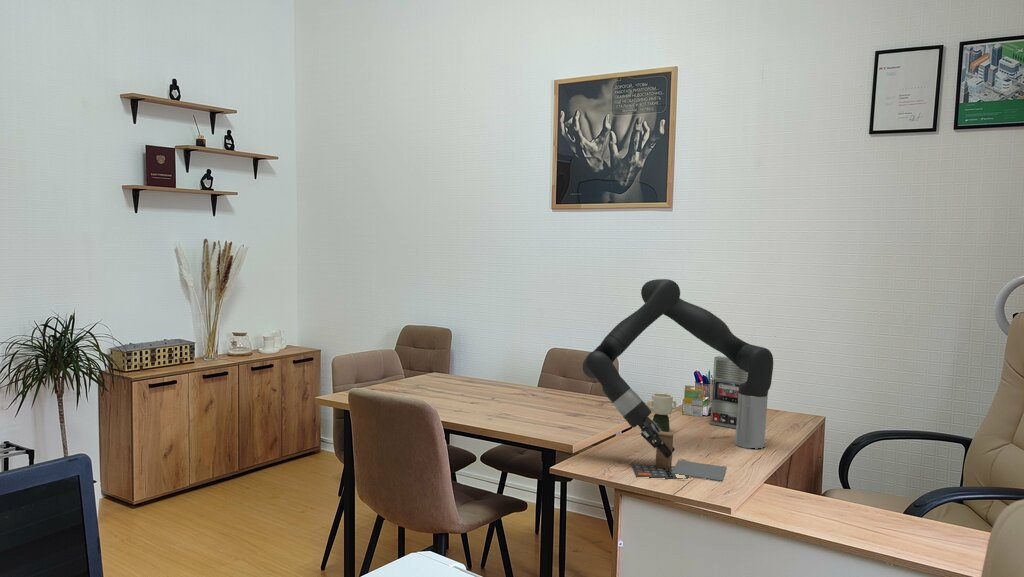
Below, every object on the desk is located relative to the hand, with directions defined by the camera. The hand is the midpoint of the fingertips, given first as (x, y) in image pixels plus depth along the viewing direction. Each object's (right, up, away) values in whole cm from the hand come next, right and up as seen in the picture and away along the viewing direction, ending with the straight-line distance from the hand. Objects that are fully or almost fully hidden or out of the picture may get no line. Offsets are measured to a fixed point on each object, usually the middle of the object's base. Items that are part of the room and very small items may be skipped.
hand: (670, 453), depth 210 cm
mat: (+8, -5, -1) cm, 9 cm away
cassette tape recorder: (+34, -3, +57) cm, 66 cm away
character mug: (+6, -2, +44) cm, 44 cm away
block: (-2, -4, +1) cm, 5 cm away
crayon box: (+25, -2, +73) cm, 77 cm away
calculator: (-4, -5, -4) cm, 7 cm away
